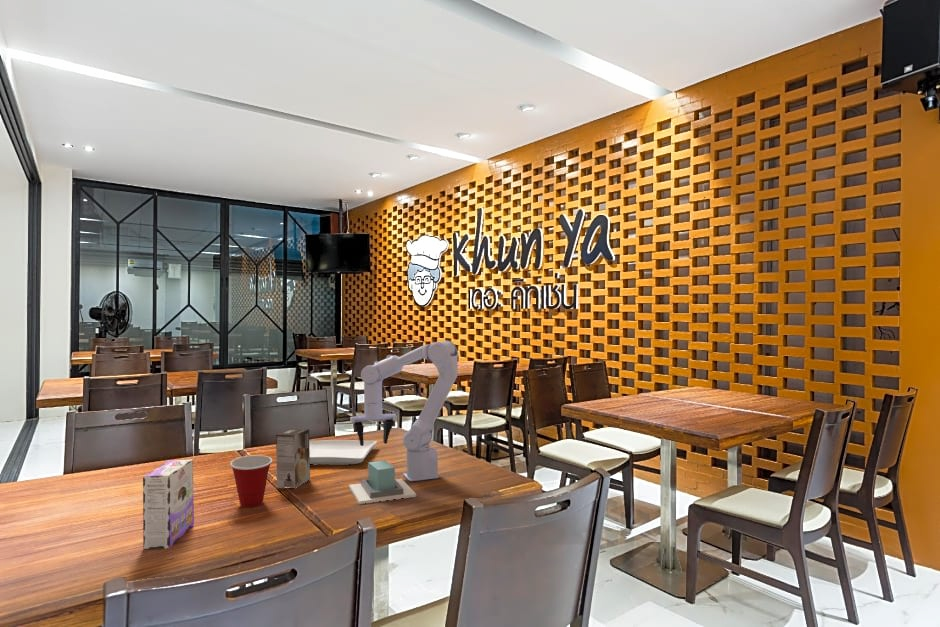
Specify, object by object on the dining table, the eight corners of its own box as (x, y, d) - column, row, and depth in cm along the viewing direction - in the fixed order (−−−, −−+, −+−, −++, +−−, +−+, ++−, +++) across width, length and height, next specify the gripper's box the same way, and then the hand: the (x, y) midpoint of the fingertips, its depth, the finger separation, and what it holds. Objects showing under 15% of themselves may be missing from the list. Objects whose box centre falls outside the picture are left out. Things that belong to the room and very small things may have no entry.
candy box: (169, 526, 138) (169, 459, 138) (194, 525, 139) (194, 458, 139) (142, 550, 124) (141, 475, 124) (169, 548, 125) (169, 474, 125)
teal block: (394, 492, 160) (394, 467, 160) (377, 494, 158) (377, 469, 158) (384, 483, 169) (384, 460, 169) (368, 486, 166) (368, 462, 166)
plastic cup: (232, 513, 147) (231, 467, 147) (228, 501, 156) (228, 458, 156) (275, 506, 152) (275, 461, 152) (269, 495, 161) (269, 453, 161)
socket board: (401, 481, 174) (401, 473, 174) (416, 496, 159) (416, 488, 159) (349, 487, 168) (349, 479, 168) (359, 504, 153) (359, 495, 153)
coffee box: (291, 479, 177) (291, 428, 177) (310, 480, 175) (310, 428, 175) (275, 488, 168) (275, 434, 168) (295, 489, 166) (295, 435, 166)
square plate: (364, 468, 190) (364, 456, 190) (283, 469, 190) (283, 457, 190) (378, 449, 217) (378, 438, 217) (307, 449, 217) (307, 439, 217)
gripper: (392, 398, 189) (392, 439, 189) (348, 401, 183) (348, 443, 184) (397, 402, 182) (397, 444, 182) (352, 405, 177) (352, 448, 177)
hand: (373, 444), depth 182 cm, fingers open, 7 cm apart
